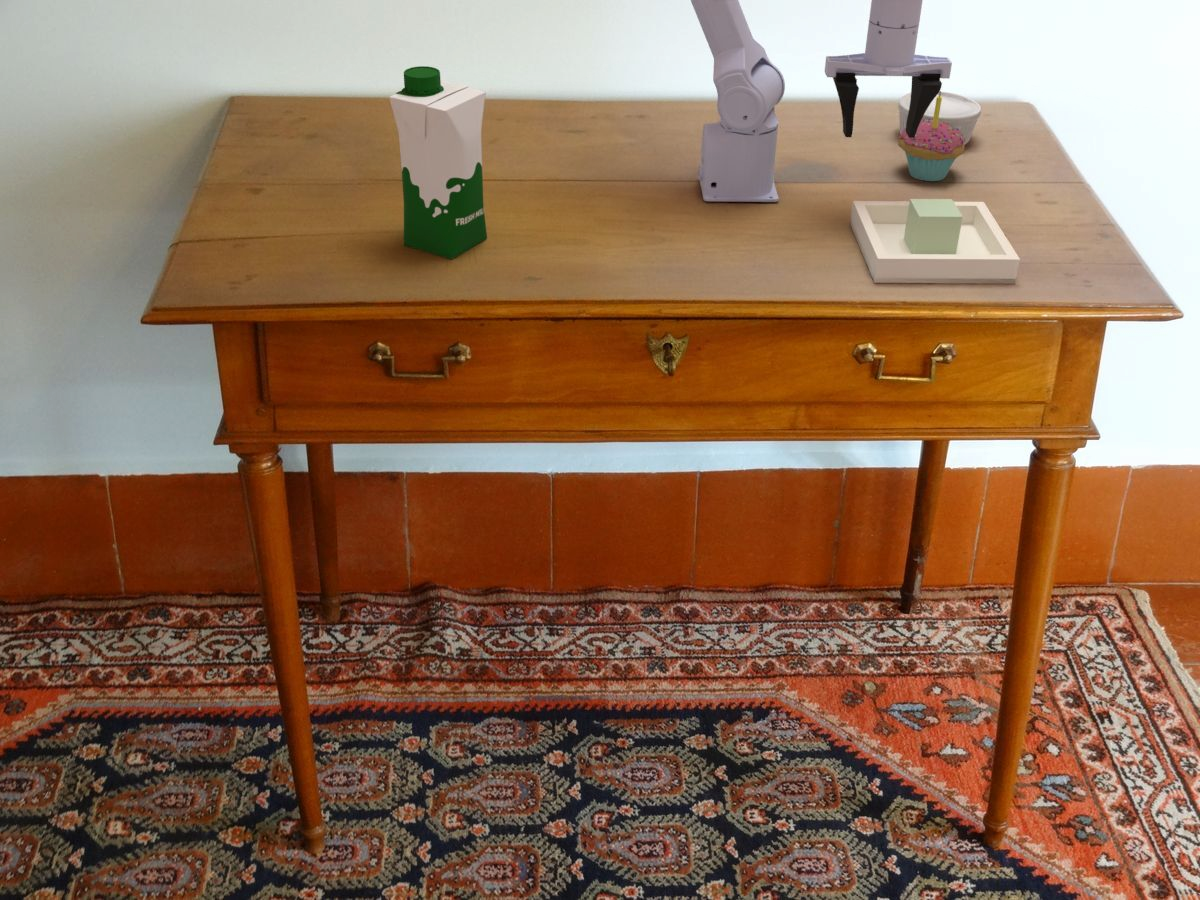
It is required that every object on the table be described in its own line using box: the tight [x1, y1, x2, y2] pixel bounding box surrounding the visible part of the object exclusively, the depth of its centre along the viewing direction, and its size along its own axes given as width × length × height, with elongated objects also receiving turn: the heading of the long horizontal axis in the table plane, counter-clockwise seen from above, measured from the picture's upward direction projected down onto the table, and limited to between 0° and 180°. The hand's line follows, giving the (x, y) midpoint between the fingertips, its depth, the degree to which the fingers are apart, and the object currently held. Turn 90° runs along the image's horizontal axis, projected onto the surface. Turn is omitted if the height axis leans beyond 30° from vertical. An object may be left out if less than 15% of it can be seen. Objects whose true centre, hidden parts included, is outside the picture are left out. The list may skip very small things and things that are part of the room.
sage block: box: [904, 198, 963, 254], centre depth 157 cm, size 5×5×5 cm
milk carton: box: [389, 65, 488, 260], centre depth 154 cm, size 9×9×20 cm
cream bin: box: [849, 200, 1021, 285], centre depth 158 cm, size 16×16×3 cm
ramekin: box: [897, 91, 982, 146], centre depth 189 cm, size 11×11×5 cm
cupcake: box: [897, 90, 965, 182], centre depth 176 cm, size 9×8×12 cm
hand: (878, 134), depth 163 cm, fingers open, 7 cm apart
